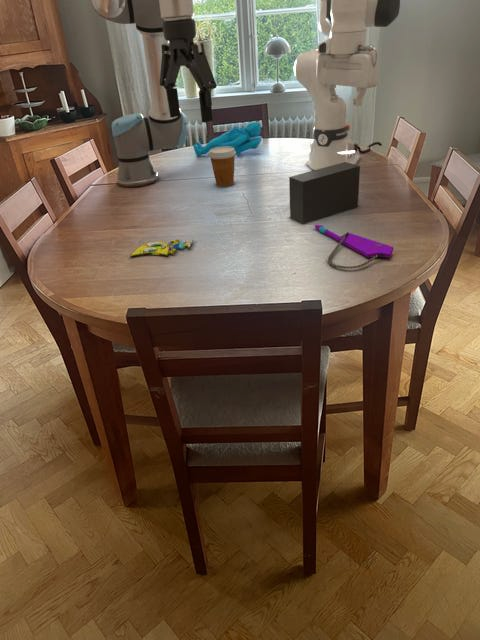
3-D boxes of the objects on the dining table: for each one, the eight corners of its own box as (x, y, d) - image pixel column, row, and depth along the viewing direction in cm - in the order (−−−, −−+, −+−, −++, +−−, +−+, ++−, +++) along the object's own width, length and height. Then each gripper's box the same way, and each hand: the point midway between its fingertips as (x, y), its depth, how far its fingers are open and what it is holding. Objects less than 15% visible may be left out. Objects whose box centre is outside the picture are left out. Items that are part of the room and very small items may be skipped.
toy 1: (185, 253, 123) (129, 254, 125) (186, 256, 123) (130, 257, 125) (193, 237, 131) (141, 238, 133) (194, 240, 132) (141, 241, 134)
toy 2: (199, 135, 215) (262, 115, 205) (207, 159, 220) (269, 140, 210) (187, 145, 201) (254, 124, 191) (196, 170, 206) (262, 151, 196)
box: (303, 224, 136) (302, 181, 129) (290, 218, 140) (289, 176, 134) (357, 206, 144) (360, 165, 137) (343, 201, 149) (345, 161, 142)
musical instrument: (376, 279, 107) (404, 235, 119) (376, 271, 106) (404, 227, 118) (282, 266, 120) (316, 227, 132) (281, 259, 119) (315, 220, 131)
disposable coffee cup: (207, 187, 170) (203, 152, 164) (218, 179, 178) (215, 145, 171) (232, 188, 167) (229, 153, 161) (242, 180, 174) (239, 146, 168)
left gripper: (226, 14, 102) (234, 120, 114) (162, 20, 119) (175, 112, 130) (197, 17, 98) (209, 126, 110) (135, 22, 115) (151, 117, 126)
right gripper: (387, 43, 115) (382, 106, 123) (331, 43, 130) (330, 98, 138) (367, 46, 113) (363, 110, 120) (312, 46, 128) (312, 102, 135)
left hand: (190, 119), depth 120 cm, fingers open, 13 cm apart
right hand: (345, 104), depth 129 cm, fingers open, 8 cm apart
